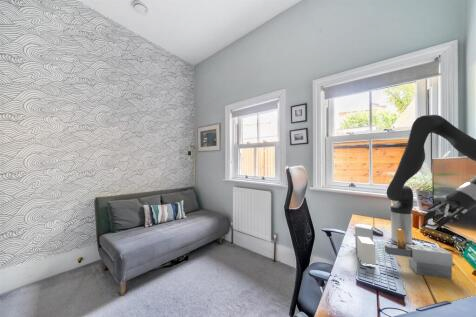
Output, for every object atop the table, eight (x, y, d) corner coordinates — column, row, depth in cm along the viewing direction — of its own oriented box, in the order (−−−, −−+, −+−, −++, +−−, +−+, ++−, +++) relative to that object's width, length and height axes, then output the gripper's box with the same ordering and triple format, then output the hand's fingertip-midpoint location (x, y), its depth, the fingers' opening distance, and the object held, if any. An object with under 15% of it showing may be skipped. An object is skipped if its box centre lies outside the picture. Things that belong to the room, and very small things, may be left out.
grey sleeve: (406, 265, 82) (405, 243, 82) (443, 271, 78) (442, 248, 78) (413, 273, 76) (413, 249, 77) (454, 280, 72) (453, 254, 72)
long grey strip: (384, 250, 84) (384, 227, 84) (442, 258, 77) (441, 232, 77) (387, 253, 81) (387, 229, 81) (447, 262, 74) (446, 235, 74)
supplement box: (373, 249, 98) (373, 225, 98) (371, 254, 93) (371, 229, 93) (357, 245, 103) (357, 222, 103) (355, 249, 98) (354, 226, 98)
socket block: (357, 257, 90) (357, 236, 90) (369, 259, 88) (369, 237, 88) (362, 265, 82) (362, 242, 82) (375, 268, 80) (375, 244, 81)
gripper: (444, 187, 81) (413, 210, 85) (472, 192, 68) (433, 219, 72) (461, 200, 79) (428, 223, 83) (493, 207, 66) (452, 234, 70)
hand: (430, 221), depth 77 cm, fingers open, 8 cm apart
